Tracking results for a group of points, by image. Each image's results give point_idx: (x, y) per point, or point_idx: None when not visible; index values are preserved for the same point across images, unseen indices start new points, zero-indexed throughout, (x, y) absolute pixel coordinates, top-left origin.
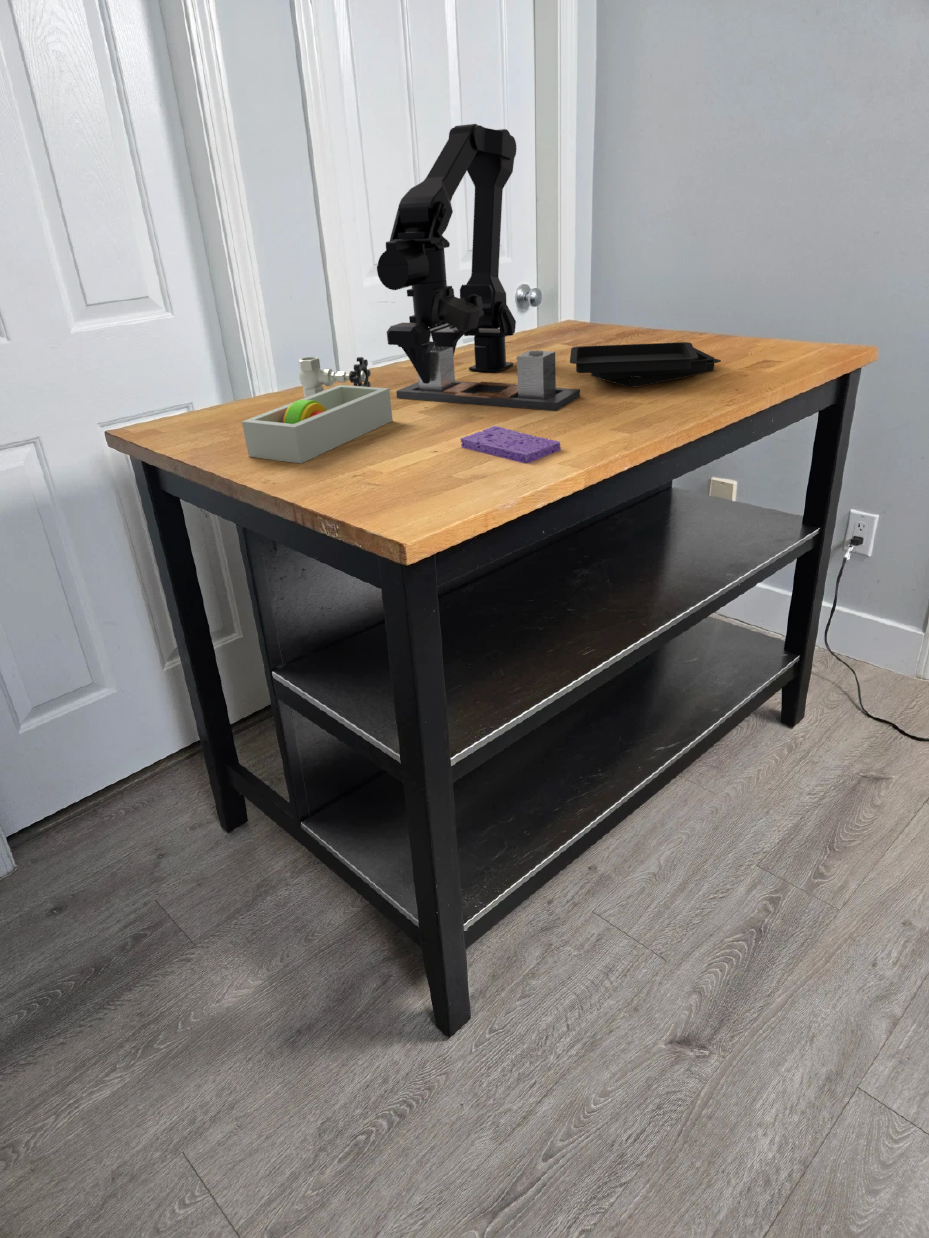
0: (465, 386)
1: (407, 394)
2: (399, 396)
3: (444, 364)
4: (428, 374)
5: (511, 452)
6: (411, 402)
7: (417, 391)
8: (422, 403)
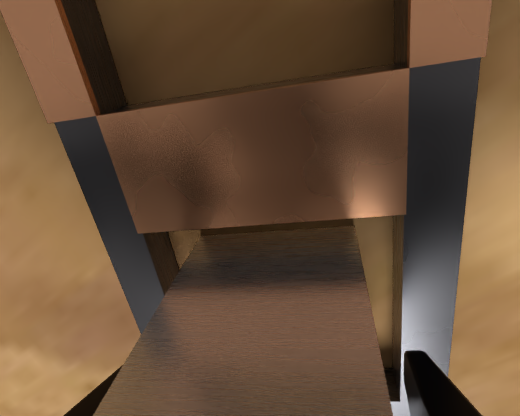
0: (216, 147)
1: None
2: None
3: (280, 407)
4: (463, 407)
5: None
6: (497, 323)
7: None
8: (510, 260)
